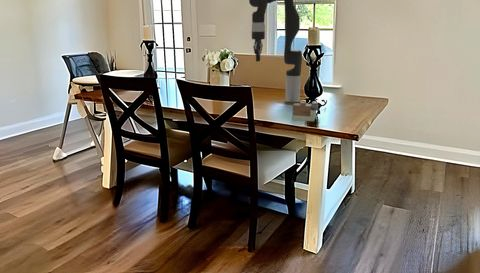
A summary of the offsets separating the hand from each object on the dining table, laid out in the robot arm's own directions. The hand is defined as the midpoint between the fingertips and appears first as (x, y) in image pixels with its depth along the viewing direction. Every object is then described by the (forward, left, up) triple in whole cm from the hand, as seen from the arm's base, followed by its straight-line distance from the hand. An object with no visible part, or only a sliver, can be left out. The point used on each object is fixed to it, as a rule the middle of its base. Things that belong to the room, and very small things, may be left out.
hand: (258, 61), depth 242 cm
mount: (+14, +30, -29) cm, 44 cm away
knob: (+16, +36, -23) cm, 46 cm away
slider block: (+14, +29, -29) cm, 44 cm away
